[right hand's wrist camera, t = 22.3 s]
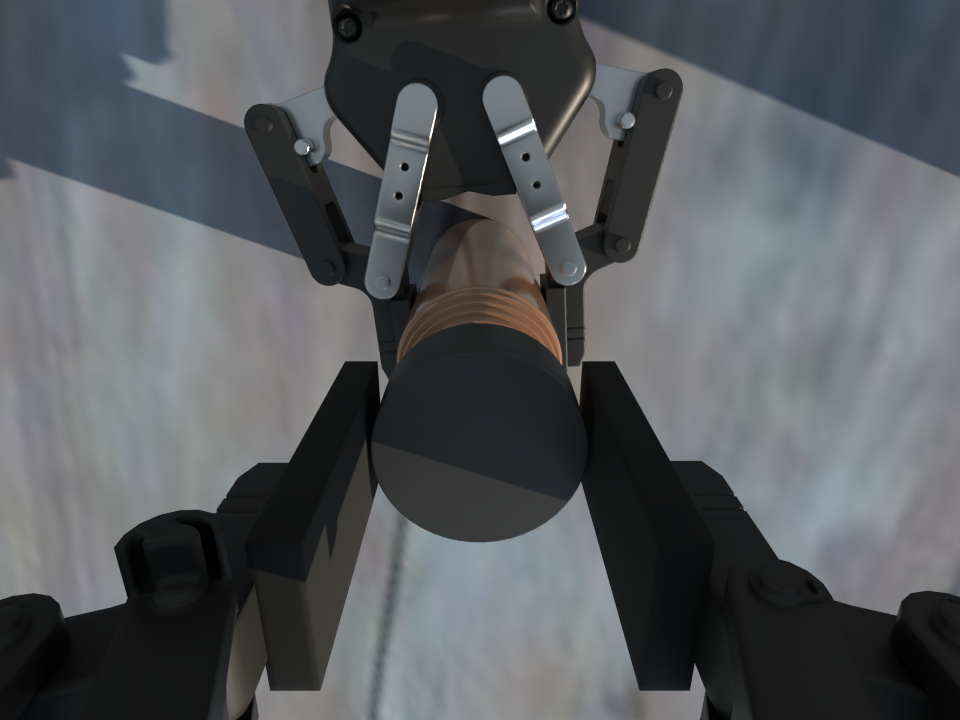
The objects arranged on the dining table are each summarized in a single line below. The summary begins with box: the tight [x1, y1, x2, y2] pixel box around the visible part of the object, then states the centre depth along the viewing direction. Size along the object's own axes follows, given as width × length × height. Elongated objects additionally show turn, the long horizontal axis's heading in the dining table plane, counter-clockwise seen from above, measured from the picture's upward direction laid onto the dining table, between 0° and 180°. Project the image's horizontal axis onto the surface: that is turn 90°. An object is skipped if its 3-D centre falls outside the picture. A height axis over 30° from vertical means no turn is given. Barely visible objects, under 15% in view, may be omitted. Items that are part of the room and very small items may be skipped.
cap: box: [370, 323, 588, 542], centre depth 14 cm, size 5×5×2 cm
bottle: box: [397, 219, 562, 364], centre depth 21 cm, size 5×5×16 cm
